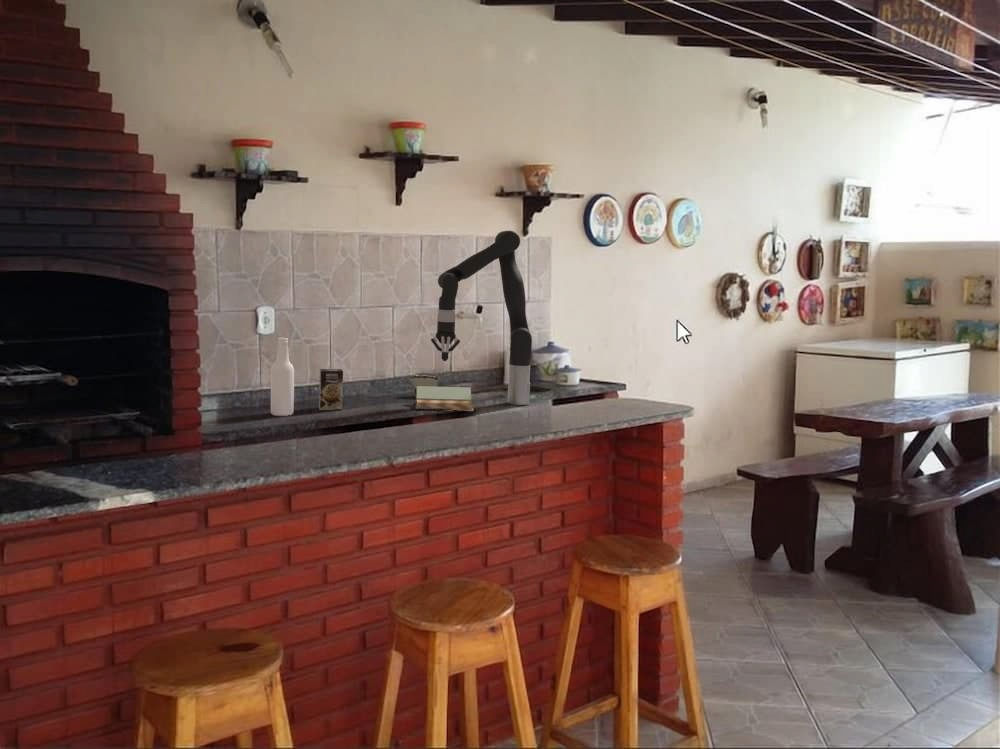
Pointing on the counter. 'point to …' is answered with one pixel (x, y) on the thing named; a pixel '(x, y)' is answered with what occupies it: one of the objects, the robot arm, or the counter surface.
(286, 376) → the alcohol
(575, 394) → the counter surface
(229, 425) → the counter surface
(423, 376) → the food container
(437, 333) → the robot arm
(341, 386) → the coffee box
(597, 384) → the counter surface
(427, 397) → the board
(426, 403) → the floor frame
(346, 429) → the counter surface
